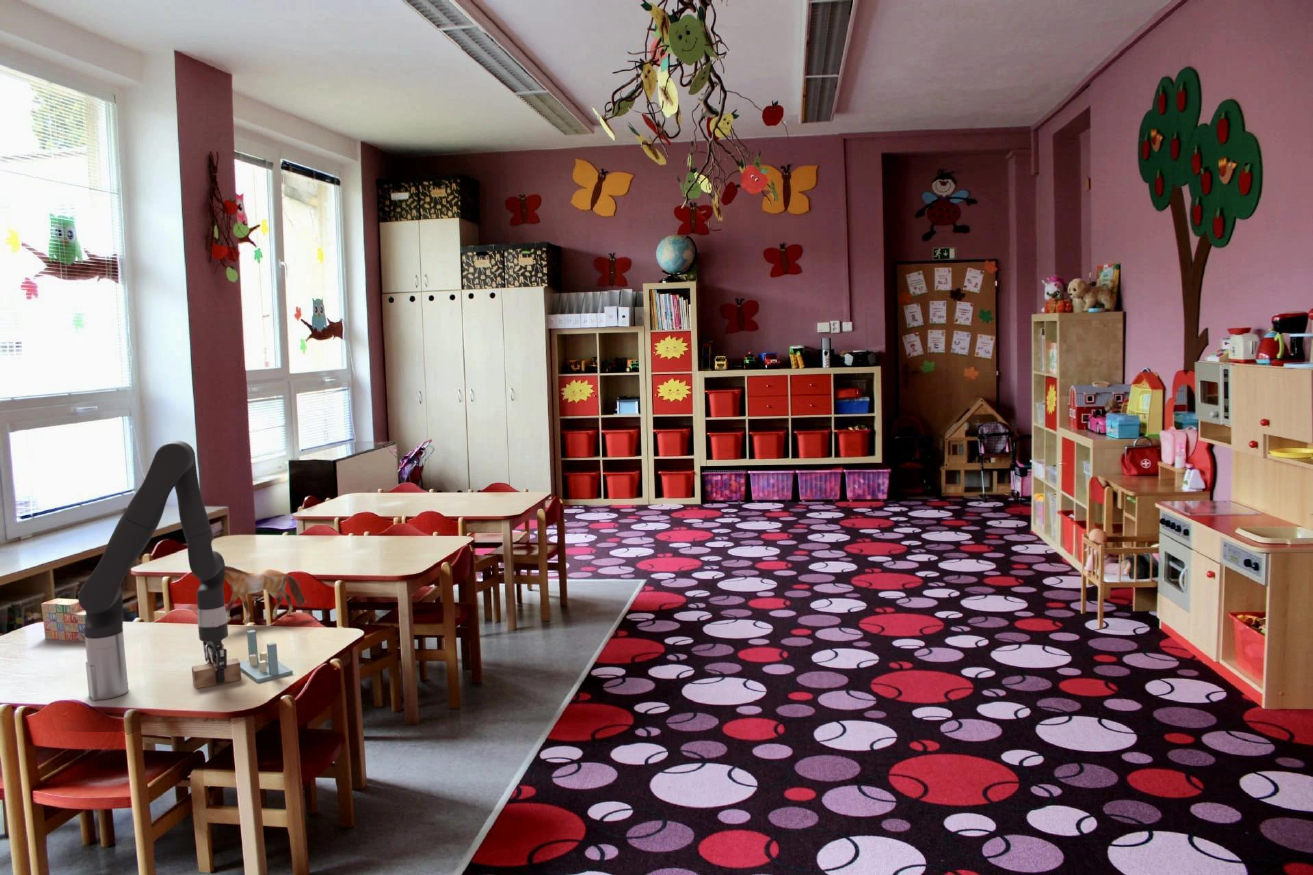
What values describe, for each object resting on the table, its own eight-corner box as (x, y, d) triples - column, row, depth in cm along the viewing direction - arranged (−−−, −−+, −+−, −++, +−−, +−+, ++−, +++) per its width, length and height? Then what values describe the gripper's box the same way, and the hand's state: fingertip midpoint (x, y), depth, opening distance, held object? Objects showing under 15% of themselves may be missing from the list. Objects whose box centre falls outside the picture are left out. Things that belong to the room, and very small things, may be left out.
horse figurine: (211, 627, 332) (206, 568, 330) (216, 621, 340) (211, 563, 338) (307, 618, 340) (303, 560, 338) (310, 612, 347) (306, 555, 345)
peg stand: (257, 682, 277) (254, 648, 275) (235, 666, 291) (233, 634, 290) (292, 673, 283) (290, 640, 282) (269, 658, 297) (267, 626, 296)
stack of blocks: (109, 637, 326) (106, 601, 324) (93, 642, 320) (90, 606, 318) (60, 632, 332) (57, 597, 331) (44, 638, 326) (40, 602, 325)
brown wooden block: (195, 688, 273) (194, 671, 273) (193, 683, 277) (191, 666, 277) (241, 679, 280) (240, 662, 279) (238, 674, 284) (236, 657, 283)
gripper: (191, 619, 280) (195, 676, 281) (206, 630, 269) (211, 689, 271) (218, 614, 284) (223, 670, 286) (234, 624, 274) (239, 682, 275)
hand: (217, 679), depth 278 cm, fingers closed on brown wooden block, 5 cm apart
